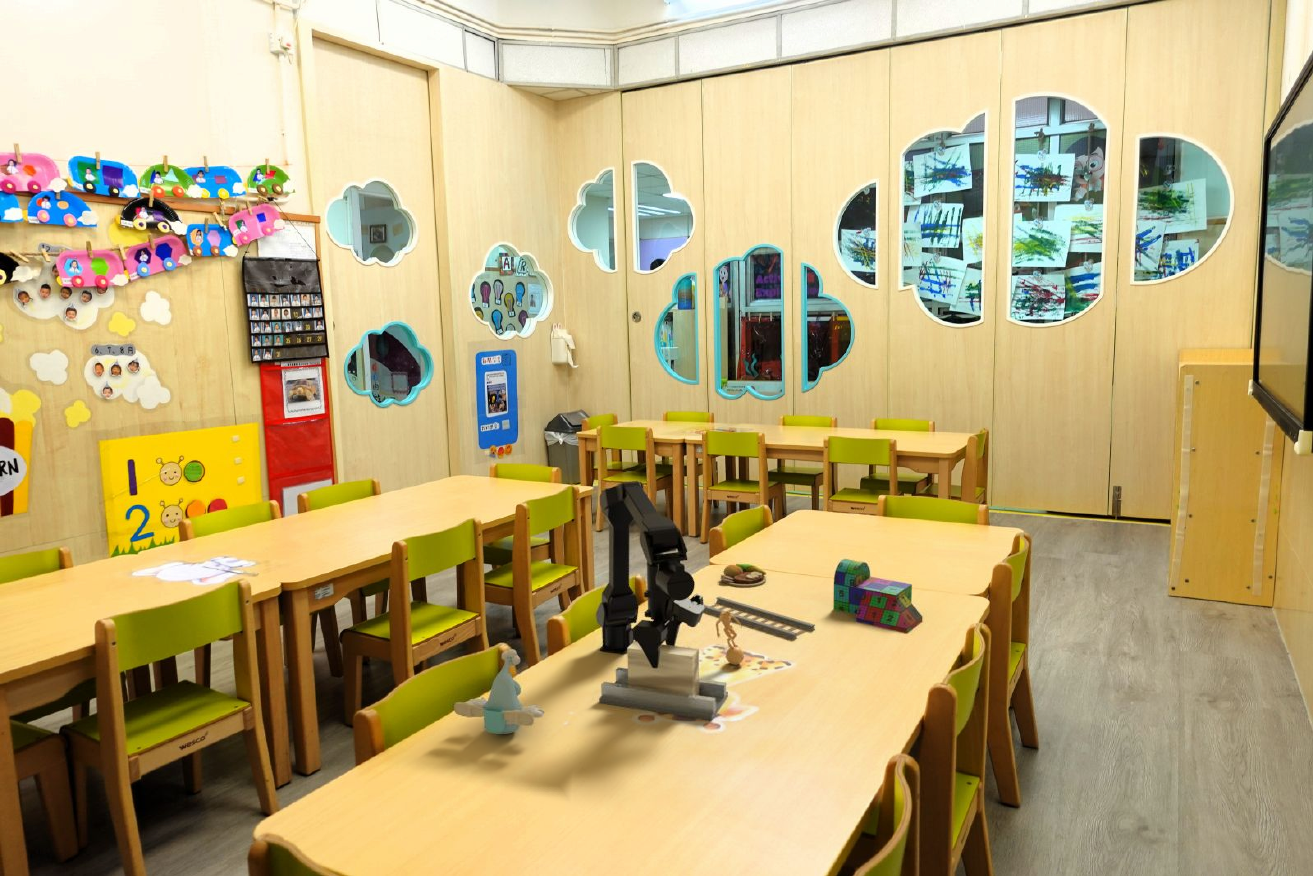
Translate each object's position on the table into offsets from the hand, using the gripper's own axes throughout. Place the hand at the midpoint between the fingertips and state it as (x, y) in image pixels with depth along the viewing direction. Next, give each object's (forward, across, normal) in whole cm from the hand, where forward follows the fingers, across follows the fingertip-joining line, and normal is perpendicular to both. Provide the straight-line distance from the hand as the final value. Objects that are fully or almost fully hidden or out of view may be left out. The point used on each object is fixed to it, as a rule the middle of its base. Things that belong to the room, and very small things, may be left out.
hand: (663, 659), depth 175 cm
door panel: (+8, 0, 0) cm, 8 cm away
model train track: (+10, +50, -6) cm, 51 cm away
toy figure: (+9, -22, +24) cm, 34 cm away
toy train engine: (+9, +63, -35) cm, 73 cm away
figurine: (+9, +22, -8) cm, 25 cm away
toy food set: (+10, +80, +6) cm, 81 cm away
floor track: (+9, 0, 0) cm, 9 cm away
